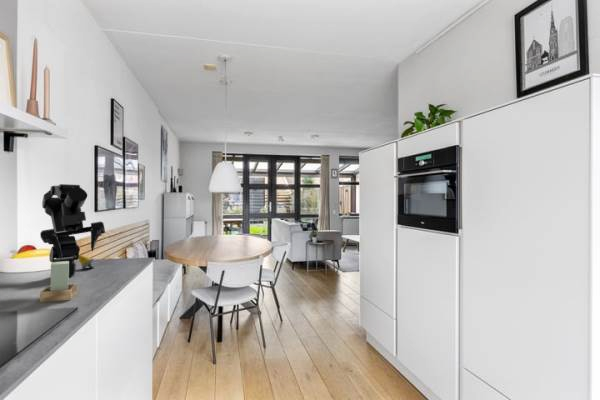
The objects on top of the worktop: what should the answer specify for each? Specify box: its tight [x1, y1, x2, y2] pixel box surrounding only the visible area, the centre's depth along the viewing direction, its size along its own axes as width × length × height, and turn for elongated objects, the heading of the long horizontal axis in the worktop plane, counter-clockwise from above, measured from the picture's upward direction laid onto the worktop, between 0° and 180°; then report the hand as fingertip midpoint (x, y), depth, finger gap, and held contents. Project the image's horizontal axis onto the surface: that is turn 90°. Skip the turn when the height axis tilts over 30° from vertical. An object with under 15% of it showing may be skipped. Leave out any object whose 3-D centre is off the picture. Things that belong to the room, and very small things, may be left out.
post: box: [49, 261, 70, 291], centre depth 102 cm, size 4×4×11 cm
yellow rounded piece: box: [78, 253, 95, 270], centre depth 140 cm, size 5×5×10 cm
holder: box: [39, 283, 78, 303], centre depth 102 cm, size 8×8×3 cm
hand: (77, 253), depth 113 cm, fingers open, 9 cm apart
